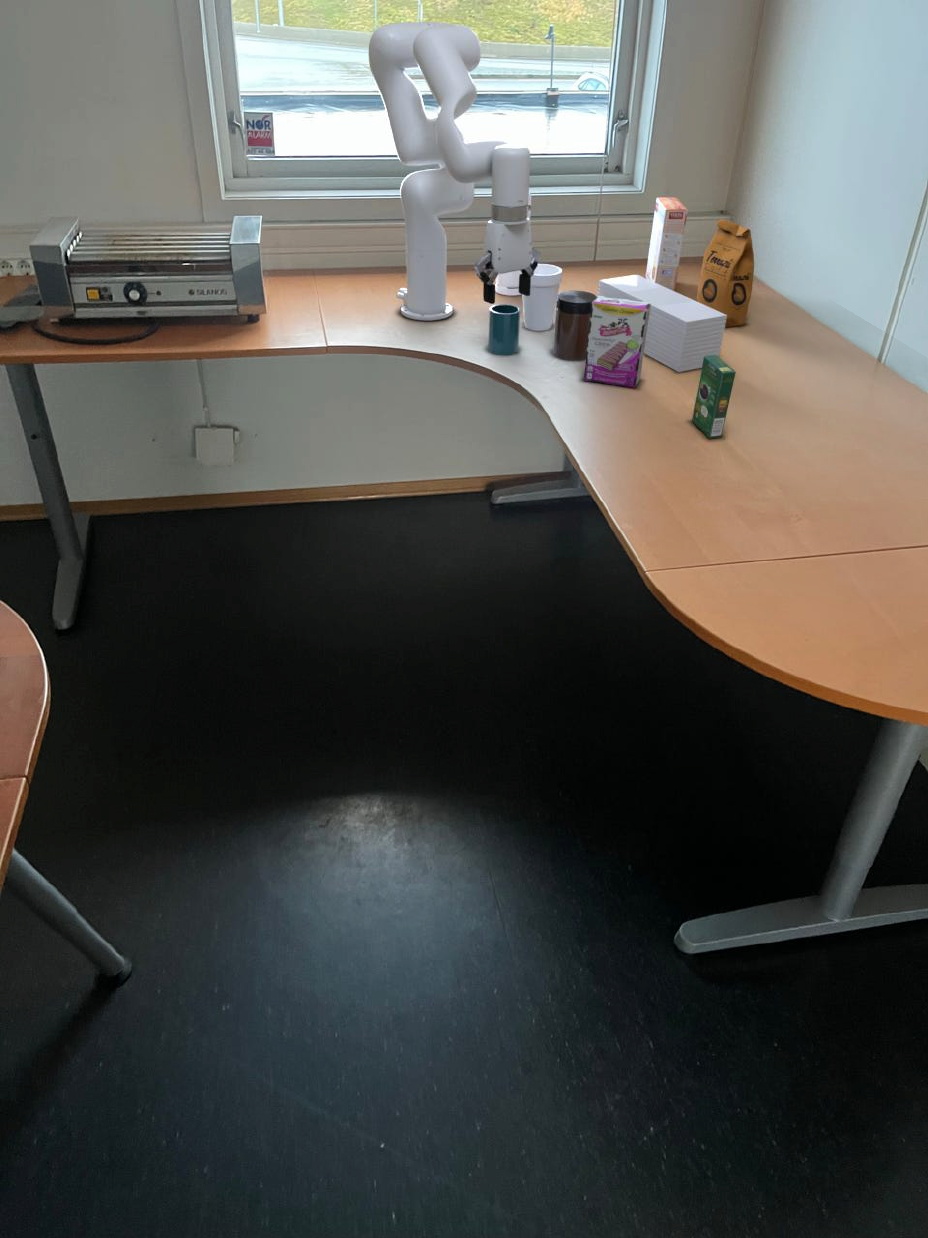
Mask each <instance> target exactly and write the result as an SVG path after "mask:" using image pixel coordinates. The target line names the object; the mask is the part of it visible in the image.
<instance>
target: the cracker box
mask: <svg viewBox="0 0 928 1238" xmlns="http://www.w3.org/2000/svg"><path fill="white" fill-rule="evenodd" d="M654 207H655V208H654V215H653V221H652V227H651V228H652V229H651V236H650V241H649V249H648V256H647V264H646V271H645V277H644V278H646V279H648V280H650V281H652V282H655V283H657V284H659V285H661V286H663V287H666V288H668V289H670V290H672V291H675V292H676V285H677V278H678V272H679V266H680V260H681V255H682V248H683V240H684V235H685V229H686V224H687V217H688V209H687V207H686V206H685V205H684V204H683V203H682V202H681V200H680V199H679V198H678V197H668V196H667V197H663V196H662V197H656V199H655V206H654Z"/></svg>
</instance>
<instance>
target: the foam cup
mask: <svg viewBox="0 0 928 1238" xmlns="http://www.w3.org/2000/svg"><path fill="white" fill-rule="evenodd" d="M521 274H522V272H521ZM562 278H563V269H562V268H561V267H560V266H557V265H553V264H548V263H538V266H537V267H536V269H535V270H534V275H533V276H532V277H531V287H530V296H525V295H523V294H521V296H522V310H523V323H524V327H525V328H526V329H528V330H531V331H536V332H537V331H539V332H541V331H542V332H543V331H548V330H550V329H551V328H552V324H553V319H554V316H555V312H556V303H557V295H558V294H559V290H560V285H561V283H562Z"/></svg>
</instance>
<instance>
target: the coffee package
mask: <svg viewBox="0 0 928 1238" xmlns="http://www.w3.org/2000/svg"><path fill="white" fill-rule="evenodd" d="M716 226H717V230H716V232H715V234H714V235H713V237H712V239H711V241H710V243H709V244H708V246H707V248H706V250H705V252H704V254H703V257H702V258H703V259H702V266H701V272H700V275H699V283H698V288H697V296H696V301H697V302H699V303H701V304H703V305H705V306H708V307H710V308H712V309H714V310H717V311H719V312H721V313H723V314H725V315H727V319H725V320H726V324H724V325H725V328H726V327H728V328H731V327H741V326H744V325H745V324H746V319H747V315H748V311H749V310H748V309H749V305H750V301H751V297H752V293H753V282H754V272H755V254H754V248H753V238H752V231H751V229H750V228H747V227H745V226H742V225H741V224H738V223H735V222H732V221H729V220H726V219H724V218H721V219H719V220H718V221H717V223H716Z"/></svg>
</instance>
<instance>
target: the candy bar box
mask: <svg viewBox="0 0 928 1238" xmlns="http://www.w3.org/2000/svg"><path fill="white" fill-rule="evenodd" d="M650 307H651V303H649V302H642V301H634V300H626V299H619V298H612V297H604V296H598V295H596V298H595V300H593V302H592V307H591V317H590V326H589V335H588V344H587V353H586V359H585V364H584V371H583V372H584V373H583V381H586V382H592V383H599V384H604V385H605V384H606V385H610V386H611V385H612V386H618V387H625V388H632V389H636V388H637V385H638V384H639V381H640V380H641V374H642V368H643V367H642V366H643V362H644V361H643V360H644V354H645V353H644V347H645V341H646V333H647V327H648V320H649V314H650Z"/></svg>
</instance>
